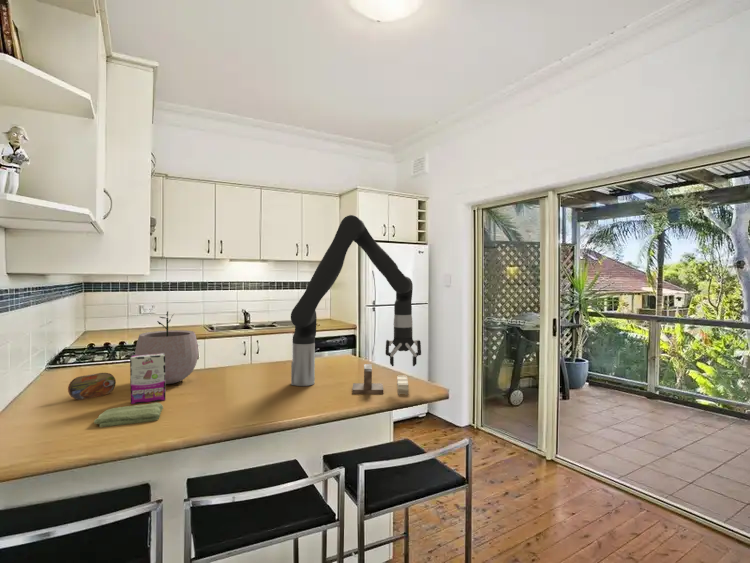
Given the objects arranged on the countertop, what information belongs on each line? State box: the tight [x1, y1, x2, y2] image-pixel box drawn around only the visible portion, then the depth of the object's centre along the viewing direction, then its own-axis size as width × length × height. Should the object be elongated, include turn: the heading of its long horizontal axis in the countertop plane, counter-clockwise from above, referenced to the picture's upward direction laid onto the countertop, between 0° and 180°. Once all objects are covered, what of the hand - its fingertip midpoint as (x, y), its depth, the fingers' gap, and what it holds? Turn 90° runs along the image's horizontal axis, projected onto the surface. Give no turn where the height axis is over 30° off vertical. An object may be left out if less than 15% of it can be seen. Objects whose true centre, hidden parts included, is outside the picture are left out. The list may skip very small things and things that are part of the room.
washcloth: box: [93, 402, 164, 428], centre depth 135 cm, size 13×18×3 cm
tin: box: [67, 372, 117, 401], centre depth 159 cm, size 15×3×8 cm, turn 143°
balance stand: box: [351, 363, 384, 395], centre depth 171 cm, size 12×10×10 cm
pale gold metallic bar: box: [396, 374, 409, 396], centre depth 173 cm, size 16×4×4 cm, turn 178°
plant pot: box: [134, 310, 199, 385], centre depth 180 cm, size 24×24×30 cm
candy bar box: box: [129, 353, 166, 405], centre depth 154 cm, size 11×5×16 cm, turn 118°
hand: (403, 365), depth 173 cm, fingers open, 8 cm apart
